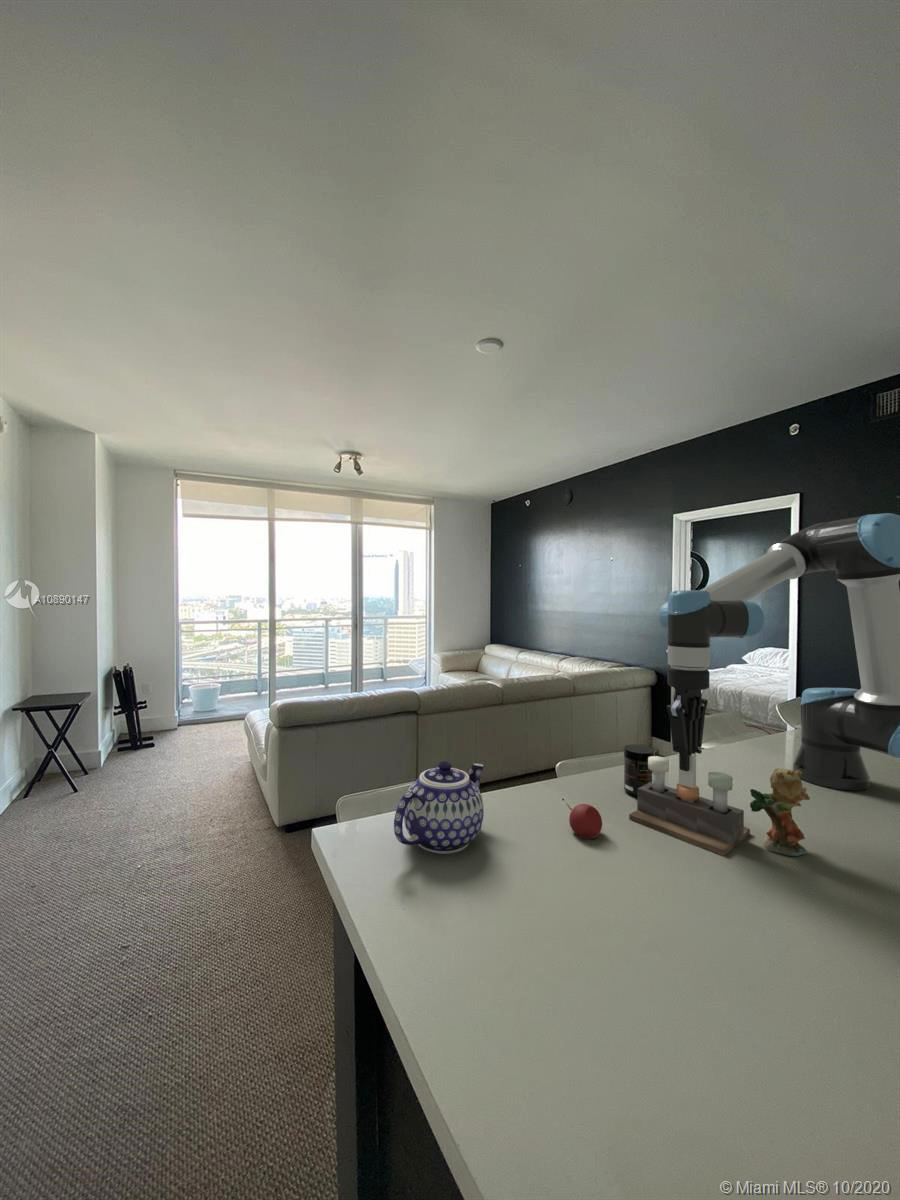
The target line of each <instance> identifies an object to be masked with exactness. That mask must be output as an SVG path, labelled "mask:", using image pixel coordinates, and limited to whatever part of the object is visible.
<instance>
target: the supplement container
mask: <svg viewBox="0 0 900 1200" xmlns="http://www.w3.org/2000/svg"><path fill="white" fill-rule="evenodd" d="M655 750H656V749H654V748H653V747H651V746H648V745H647V746H646V745H644V744H643V745H642V744H627V745H626V744H625V745H624V746H623V790H624V792H625V793H626V794H627V795H629V796H630V797H634V798H637V791H638V788H640V787H642V786H644V785H646V784H648V783H650V782H652V770H650V769H649V768H648V757H651V756H656V755H655V754H656V751H655Z"/></svg>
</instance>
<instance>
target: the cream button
mask: <svg viewBox="0 0 900 1200" xmlns="http://www.w3.org/2000/svg"><path fill="white" fill-rule="evenodd" d="M648 768H649V769H650V770H652V790H653V791H655V792H659V793H663V792H665V786H666V785H665V783H666V781H665V780H666V777H665V776H666V773H668V772H669V771H670V759H669V758H666V757H663V756H659V755H658V756H657V755H655V756H651V757H648Z"/></svg>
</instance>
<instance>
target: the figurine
mask: <svg viewBox="0 0 900 1200" xmlns="http://www.w3.org/2000/svg"><path fill="white" fill-rule="evenodd" d="M801 774H802V772H801V771H800V770H797V771H793V769H788V768H779V767H778V768H775V769H774V770H773V772H772V774H771V775H770V778H769V780H770V781H769V783H770V788H771V789H772V792H771V793H762V792H760V790H757V789H754V788H751V789H749V791H750V796H751V797H752V798H753V800H752V801H750V803H749V804H750V805H749V807H750V808H751V810H750V811H751V812H753V813H754V812H756V813H757V812H761V810H763V811H764V812H765V813H766V814H767V816H768V817H769V819H770V820H771V828H770V829H769V830H767V831H766V834H767V835H765V836H764V839H763V842H762V844H763V846H764V848H766V849H767V850H768V851H769V852H772V853H776V854H779V855H784V856H787V857H799V856H803V855H806V854H807V853H808V852H809V851H808V850H807V849H806V848H805V847H804V846H803V845H802V844H800V843H799V841H801V840H805V839H806V837H805V836H804V835H805V834H804V833H803V832H802V830H801V829H800V828H799V826H798V825H797V823H796V822H795V820H794V819H793V814H792V809H793V808H794V807H802V804H801V803H800V802H802V801H804V800H806V801H809V800H811V798H810V796H809V795H808V793H807V791H808V789H807V788H806V787H804V786H803V781H802V779H801V778H800V776H801Z"/></svg>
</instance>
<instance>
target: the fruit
mask: <svg viewBox="0 0 900 1200" xmlns="http://www.w3.org/2000/svg"><path fill="white" fill-rule="evenodd" d="M561 800H562V801H563V802H564V801H565V799H564V798H562V799H561ZM566 806H567V807H568V808H569V810H570V813H569V817H568V818H569V819H568V820H569V821H568V822H569V826H570V828H571V830H572V832H573V833H574V835H576V836H578V837H580V838H583V839H594V838H596V837H597V836H598V835H599V834H600V833H601V831H602V828H603V819H602V816H601V814H600V812H599V811H598V810H597V808H595V807H594V806H593V805H590V804H588V803H581V804H577V805H576V806H574V807H573V808H572V807H571V806H570V805H569V804H568V803H566Z"/></svg>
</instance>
